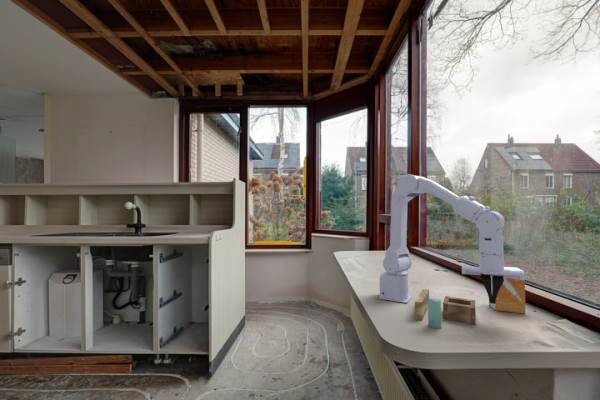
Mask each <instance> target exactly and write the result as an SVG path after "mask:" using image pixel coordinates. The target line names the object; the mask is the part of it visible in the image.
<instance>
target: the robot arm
mask: <svg viewBox="0 0 600 400" xmlns="http://www.w3.org/2000/svg"><path fill="white" fill-rule="evenodd" d="M424 193H426V194H431V195H433V196H434V197H436V198H438V199H440V200H442V201H444V202H445V203H448V204H450V205H451V206H452V209H453V211H454V213H456V214H458V215H459V216H462V217H463V218H464V219H465V220H467V221H469V222H471V223H473V224H475V226H476V228H477V229H478V236H479V237H478V257H479V258H478V259H479V263H478V264H479V266H463V265H462V266H461V274H462V275H473V276H475V275H476V276H480V280H481V282H482V284H483V286H484V288H485V290H486V293H487V296H488V304H489V303H493V304H496V298H497V294H498V292H499V289H500V287H501V286H502V284H503V282H504V278H512V279H520V280H525V281H526V272H525V273H524V272H521V271H512V270H505V269H504V267H505V263H504V262H505V261H504V260H505V258H504V257H505V256H504V255H505V254H504V237H503V235H504V232H503V228H504V226H505V223H506V220H505V217H504V216H503V214H501V213H500V212H499V211H497V210H490V209H491V207H490V206H489V205H486V206H485V205H483V204H481V203H480V202H478V201H476V198H475V197H474V196H472V195H470V196H468V195H462V196H458V195H457V194H455V193H453V192H452V191H450V190H449V189H447V188H445V187H444V186H443V185H440V184H439V183H438V182H436V181H434V180H432V179H430V178H426V177H425V176H422V175H414V174H411V173H407V174H404V175H402V176H401V178H399V179H398V180H397V181H396V187H395V189H394V190H393V193H392V194H391V195H392V196H391V203H390V204H391V205H390V207H391V208H390V210H391V212H390V237H389V238H390V239H389V240H390V241H389V242H390V245H389V247H388V248H387V249H386V251H385V255H384V258H383V261H382V267H383V269H384V271H382V272H380V275H379V297H378V299H379V300H386V301H390V302H391V301H392V302H398V303H404V304H408V303H409V301H410V300H411V298H412V295H409V269H411V267H412V259H411V257H410V251H409V249H408V247H407V230H408V203H409V202H410V201H411V200H413V199H414V198H415V197H417V196H420V195H423V194H424ZM491 276H492V288H493V290H492V292H491Z"/></svg>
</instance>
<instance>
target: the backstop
mask: <svg viewBox="0 0 600 400" xmlns="http://www.w3.org/2000/svg"><path fill="white" fill-rule="evenodd" d="M429 298H430V289H424V288H422V289H421V291H420V293H418V296H417V297H416V299H415V300H414V319H415V320H418V321H419V320H420V321H423V319H424V318H425V315H426V313H427V312H428V299H429Z"/></svg>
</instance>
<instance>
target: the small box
mask: <svg viewBox="0 0 600 400" xmlns="http://www.w3.org/2000/svg"><path fill="white" fill-rule="evenodd" d="M504 269H505V270H512V271H521V272H524V273H525V274H526V271H524V270H522V269H520V268H519V267H515V266H514V267H512V266H504ZM492 290H493V288H492V276H491V292H492ZM488 304H489V307H491V308H492V309H493V310H494V311H497V312H498V311H499V312H508V313H509V312H510V313H517V314H523V313H525V314H526V279H525V280H520V279H512V278H504V282H503V284H502V286H501V287H500V289H499V292H498V294H497V298H496V304H493V303H489V302H488Z"/></svg>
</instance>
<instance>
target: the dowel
mask: <svg viewBox="0 0 600 400" xmlns="http://www.w3.org/2000/svg"><path fill="white" fill-rule="evenodd" d="M427 324H428V325H427V326H428V327H430V328H432V329H441V328H442V300H441V299H439V298H433V297H432V298H431V297H429V299H428V309H427Z"/></svg>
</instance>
